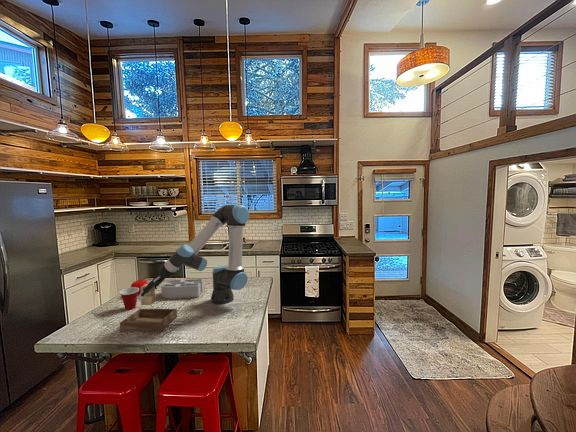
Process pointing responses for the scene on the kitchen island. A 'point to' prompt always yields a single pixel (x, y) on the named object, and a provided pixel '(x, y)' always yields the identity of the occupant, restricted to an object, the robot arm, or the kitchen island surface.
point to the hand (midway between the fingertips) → (141, 297)
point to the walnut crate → (148, 320)
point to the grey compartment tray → (182, 288)
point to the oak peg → (148, 296)
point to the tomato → (139, 284)
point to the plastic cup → (129, 297)
